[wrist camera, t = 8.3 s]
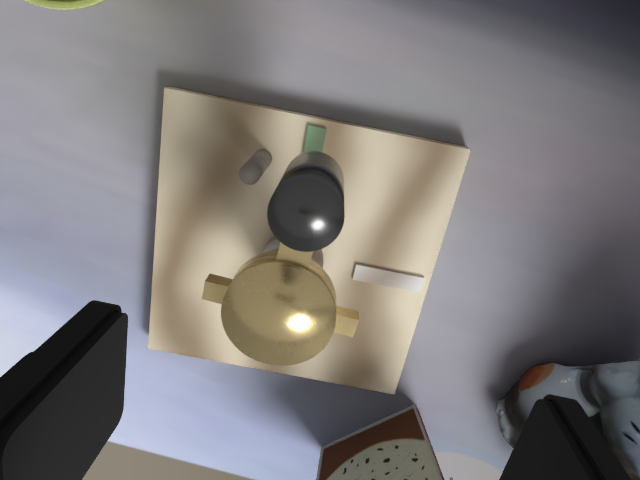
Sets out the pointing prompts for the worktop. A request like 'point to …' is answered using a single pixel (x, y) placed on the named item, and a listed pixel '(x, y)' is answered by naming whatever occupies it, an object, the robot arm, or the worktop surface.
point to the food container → (382, 452)
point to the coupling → (289, 272)
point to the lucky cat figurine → (584, 403)
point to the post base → (240, 227)
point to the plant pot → (65, 3)
